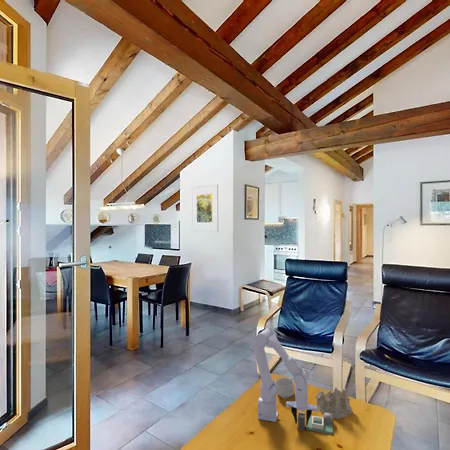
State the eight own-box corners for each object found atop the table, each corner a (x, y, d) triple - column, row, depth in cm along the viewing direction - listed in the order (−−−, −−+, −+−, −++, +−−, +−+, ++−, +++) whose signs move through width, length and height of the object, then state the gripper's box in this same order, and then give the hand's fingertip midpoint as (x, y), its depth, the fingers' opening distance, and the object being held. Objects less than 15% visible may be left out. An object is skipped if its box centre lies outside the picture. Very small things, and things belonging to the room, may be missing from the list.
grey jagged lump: (357, 413, 163) (354, 384, 164) (332, 422, 157) (329, 392, 158) (336, 400, 178) (333, 373, 178) (312, 407, 172) (310, 380, 172)
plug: (298, 429, 151) (298, 415, 151) (298, 424, 155) (298, 411, 155) (304, 430, 150) (304, 417, 150) (305, 425, 154) (304, 412, 154)
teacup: (287, 402, 174) (286, 388, 174) (271, 395, 182) (271, 381, 182) (301, 393, 183) (301, 380, 183) (286, 386, 191) (286, 373, 191)
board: (306, 429, 151) (306, 420, 151) (307, 417, 160) (307, 408, 160) (332, 434, 147) (332, 425, 147) (332, 421, 157) (332, 413, 157)
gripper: (285, 397, 151) (285, 425, 151) (316, 402, 147) (316, 431, 147) (287, 390, 158) (287, 417, 158) (316, 394, 153) (317, 422, 153)
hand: (301, 423), depth 153 cm, fingers open, 4 cm apart
